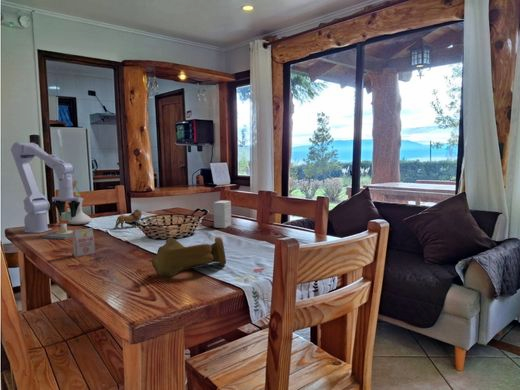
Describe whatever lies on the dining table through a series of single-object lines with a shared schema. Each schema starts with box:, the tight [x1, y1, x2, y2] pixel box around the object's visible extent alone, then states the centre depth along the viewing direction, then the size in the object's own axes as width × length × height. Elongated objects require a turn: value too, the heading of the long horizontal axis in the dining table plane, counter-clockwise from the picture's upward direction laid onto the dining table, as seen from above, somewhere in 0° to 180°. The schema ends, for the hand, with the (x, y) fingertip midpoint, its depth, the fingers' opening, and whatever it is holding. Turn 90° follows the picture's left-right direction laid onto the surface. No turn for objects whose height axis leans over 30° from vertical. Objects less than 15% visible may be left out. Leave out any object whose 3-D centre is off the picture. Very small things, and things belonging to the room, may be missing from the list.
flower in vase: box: [68, 178, 93, 225], centre depth 194 cm, size 13×11×25 cm
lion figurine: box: [113, 208, 143, 230], centre depth 186 cm, size 15×5×9 cm, turn 130°
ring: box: [60, 211, 75, 222], centre depth 172 cm, size 6×6×3 cm
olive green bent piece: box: [151, 236, 227, 278], centre depth 120 cm, size 18×13×22 cm
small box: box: [213, 200, 232, 229], centre depth 187 cm, size 8×6×13 cm
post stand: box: [42, 222, 74, 240], centre depth 170 cm, size 12×13×6 cm
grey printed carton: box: [72, 227, 96, 258], centre depth 138 cm, size 4×7×10 cm, turn 129°
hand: (68, 216), depth 172 cm, fingers closed on ring, 6 cm apart
